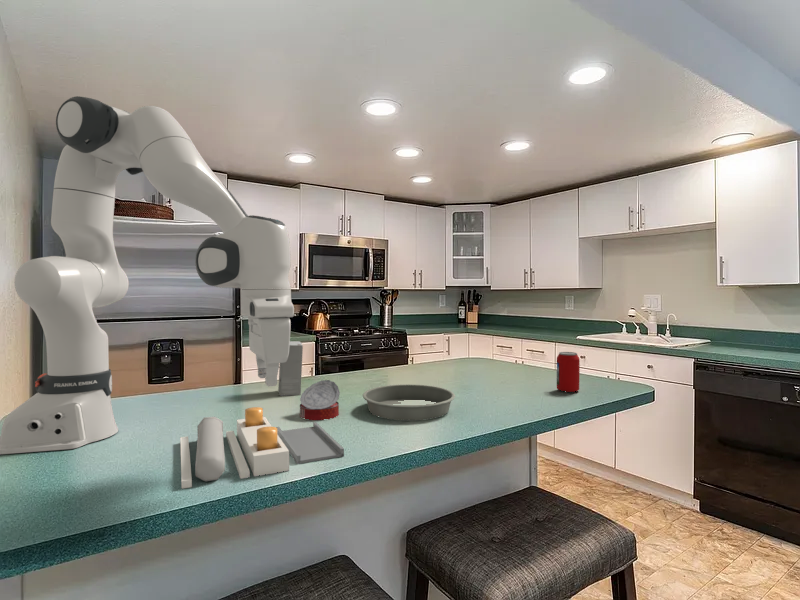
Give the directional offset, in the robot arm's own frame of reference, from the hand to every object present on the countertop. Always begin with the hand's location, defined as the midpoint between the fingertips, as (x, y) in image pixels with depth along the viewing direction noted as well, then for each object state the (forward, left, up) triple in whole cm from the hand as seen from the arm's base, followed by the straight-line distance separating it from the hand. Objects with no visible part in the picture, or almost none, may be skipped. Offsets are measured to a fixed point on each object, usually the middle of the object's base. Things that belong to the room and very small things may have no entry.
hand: (267, 381), depth 85 cm
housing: (-6, +8, -15) cm, 18 cm away
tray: (+9, +8, -15) cm, 20 cm away
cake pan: (+41, +24, -16) cm, 50 cm away
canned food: (+18, +29, -16) cm, 37 cm away
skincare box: (+17, +58, -15) cm, 62 cm away
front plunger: (0, 0, -12) cm, 12 cm away
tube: (-9, +8, -16) cm, 20 cm away
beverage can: (+96, +22, -15) cm, 100 cm away
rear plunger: (0, +16, -12) cm, 20 cm away
